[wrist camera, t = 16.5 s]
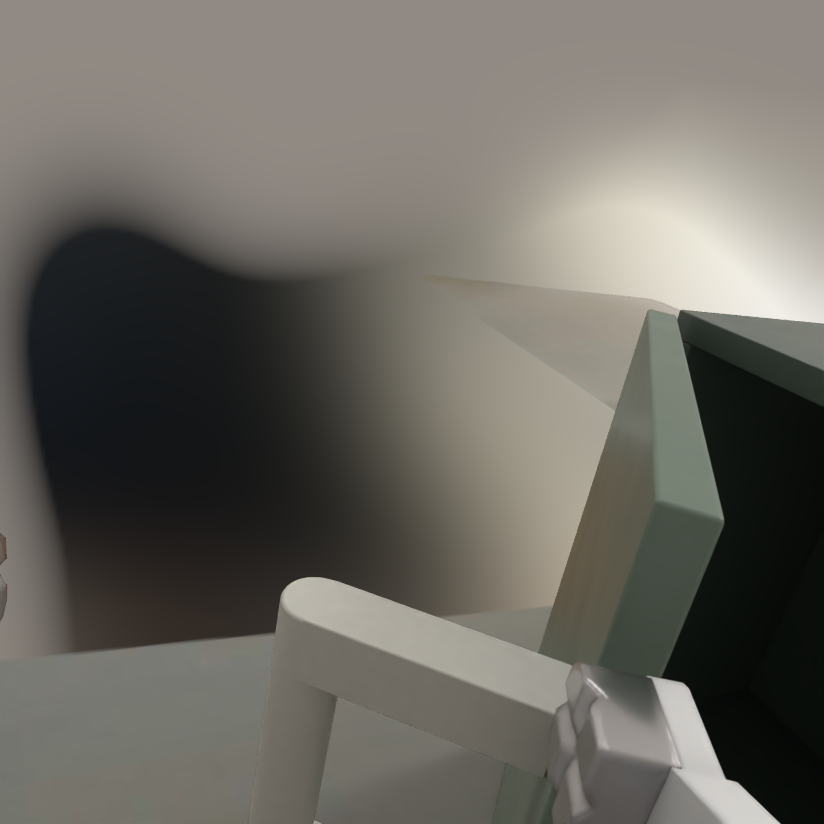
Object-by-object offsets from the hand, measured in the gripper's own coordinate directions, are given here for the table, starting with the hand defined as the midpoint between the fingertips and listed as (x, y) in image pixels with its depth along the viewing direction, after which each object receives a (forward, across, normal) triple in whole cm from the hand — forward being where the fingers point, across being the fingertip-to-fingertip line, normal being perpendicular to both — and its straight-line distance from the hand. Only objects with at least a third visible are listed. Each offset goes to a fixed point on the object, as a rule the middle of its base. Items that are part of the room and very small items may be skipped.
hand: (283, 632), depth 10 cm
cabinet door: (+10, +4, -17) cm, 20 cm away
